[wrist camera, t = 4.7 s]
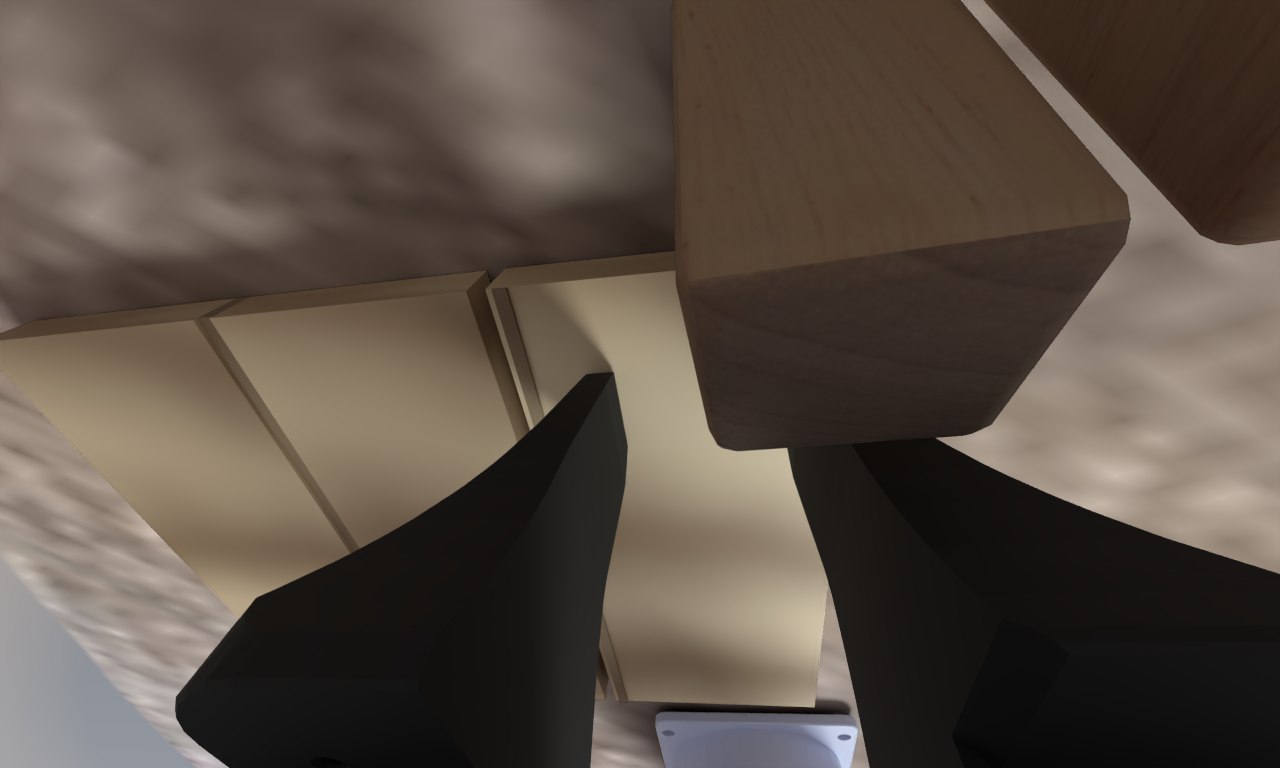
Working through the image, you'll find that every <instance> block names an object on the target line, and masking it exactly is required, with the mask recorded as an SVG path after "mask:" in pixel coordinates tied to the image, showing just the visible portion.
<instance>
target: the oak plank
mask: <svg viewBox="0 0 1280 768" xmlns="http://www.w3.org/2000/svg"><path fill="white" fill-rule="evenodd" d="M485 290H486V293H487V297H488V300H489V303H490V306H491V309H492V312H493V315H494V319H495V322H496V325H497V328H498V331H499V334H500V337H501V341H502V344H503V347H504V350H505V353H506V356H507V359H508V363H509V366H510V369H511V372H512V375H513V378H514V381H515V384H516V388H517V391H518V394H519V397H520V400H521V403H522V406H523V410H524V413H525V416H526V419H527V422H528V425H529V428H530V430H531V429H533V428H534V427H535V426H536V425H537V424H538V423H539V422H540V421H541V420H542V419H543V418H544V417H545V416H546V415H547V414H548V413H549V412H550V411H551V410H552V409H553V408H554V407H555V406H556V405H557V404H558V403H559V402H560V401H561V399H562V398H563V397H564V396H565V395H566V394H567V393H568V392H569V391H570V390H571V389H572V388H573V387H574V386H575V385H576V384H577V383H578V382H579V381H580V380H581V379H582V378H583V377H584V376H585V375H586V374H593V373H606V372H614V375H615V381H616V386H617V391H618V396H619V402H620V407H621V412H622V417H623V423H624V428H625V433H626V439H627V444H628V454H627V470H626V484H625V490H624V496H623V501H622V506H621V511H620V516H619V521H618V526H617V531H616V536H615V541H614V546H613V551H612V556H611V560H610V565H609V570H608V575H607V581H606V588H605V594H604V602H603V612H602V622H601V633H600V643H599V648H600V651H601V654H602V657H603V661H604V664H605V667H606V670H607V673H608V676H609V679H610V683H611V686H612V689H613V692H614V695H615V698H616V700H619V701H620V702H622V703H628V701H652V702H680V703H708V704H736V705H764V706H792V707H815V699H816V690H817V680H818V671H819V662H820V652H821V643H822V634H823V624H824V615H825V606H826V596H827V587H828V580H827V576H826V573H825V570H824V567H823V564H822V561H821V558H820V555H819V552H818V550H817V547H816V544H815V541H814V538H813V535H812V532H811V529H810V526H809V523H808V520H807V518H806V515H805V512H804V509H803V506H802V503H801V500H800V497H799V494H798V491H797V488H796V485H795V482H794V479H793V475H792V470H791V465H790V461H789V455H788V450H787V448H780V449H766V450H752V451H732V450H728V449H723V448H721V447H720V446H718V445H717V444H716V442H715V440H714V438H713V436H712V434H711V433H710V431H709V428H708V424H707V420H706V415H705V411H704V406H703V402H702V398H701V393H700V389H699V384H698V380H697V376H696V371H695V367H694V362H693V358H692V354H691V349H690V345H689V340H688V336H687V332H686V327H685V323H684V318H683V314H682V310H681V305H680V301H679V296H678V292H677V288H676V277H675V251H668V252H658V253H648V254H639V255H629V256H620V257H610V258H601V259H591V260H581V261H572V262H562V263H553V264H543V265H534V266H524V267H515V268H505V269H504V270H503V271H502V272H501V273H500V274H499V275H498V276H497V278H496V279H495V280H494V281H493V282H492V283H491V284H490V285H489V286H488V287H487V288H486V289H485Z"/></svg>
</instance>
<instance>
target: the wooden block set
mask: <svg viewBox="0 0 1280 768" xmlns="http://www.w3.org/2000/svg"><path fill="white" fill-rule="evenodd" d="M984 1H985V2H986V4H987V5H988V6H989V7H990V8H991V9H992V10H993V11H994V12H995V13H996V14H997V15H998V17H999V18H1000V19H1001V20H1002V21H1003V22H1004V23H1005V24H1006V25H1007V26H1008V27H1009V28H1010V30H1011V31H1012V32H1013V33H1014V34H1015V35H1016V36H1017V37H1018V38H1019V39H1020V40H1021V41H1022V43H1023V44H1024V45H1025V46H1026V47H1027V48H1028V49H1029V50H1030V51H1031V52H1032V53H1033V54H1034V56H1035V57H1036V58H1037V59H1038V60H1039V61H1040V62H1041V63H1042V64H1043V65H1044V66H1045V67H1046V69H1047V70H1048V71H1049V72H1050V73H1051V74H1052V75H1053V76H1054V77H1055V78H1056V79H1057V80H1058V82H1059V83H1060V84H1061V85H1062V86H1063V87H1064V88H1065V89H1066V90H1067V91H1068V92H1069V93H1070V95H1071V96H1072V97H1073V98H1074V99H1075V100H1076V101H1077V102H1078V103H1079V104H1080V105H1081V106H1082V108H1083V109H1084V110H1085V111H1086V112H1087V113H1088V114H1089V115H1090V116H1091V117H1092V118H1093V119H1094V121H1095V122H1096V123H1097V124H1098V125H1099V126H1100V127H1101V128H1102V129H1103V130H1104V131H1105V132H1106V134H1107V135H1108V136H1109V137H1110V138H1111V139H1112V140H1113V141H1114V142H1115V143H1116V144H1117V145H1118V147H1119V148H1120V149H1121V150H1122V151H1123V152H1124V153H1125V154H1126V155H1127V156H1128V157H1129V158H1130V160H1131V161H1132V162H1133V163H1134V164H1135V165H1136V166H1137V167H1138V168H1139V169H1140V170H1141V171H1142V173H1143V174H1144V175H1145V176H1146V177H1147V178H1148V179H1149V180H1150V181H1151V182H1152V183H1153V184H1154V186H1155V187H1156V188H1157V189H1158V190H1159V191H1160V192H1161V193H1162V194H1163V195H1164V196H1165V197H1166V199H1167V200H1168V201H1169V202H1170V203H1171V204H1172V205H1173V206H1174V207H1175V208H1176V209H1177V210H1178V212H1179V213H1180V214H1181V215H1182V216H1183V217H1184V218H1185V219H1186V220H1187V221H1188V222H1189V223H1190V225H1191V226H1192V227H1193V228H1194V229H1195V230H1196V231H1197V232H1198V233H1199V234H1200V235H1202V236H1204V237H1206V238H1209V239H1211V240H1213V241H1216V242H1218V243H1225V244H1232V245H1245V244H1253V243H1260V242H1268V241H1276V240H1280V0H984ZM672 60H673V132H674V204H675V277H676V288H677V292H678V296H679V301H680V305H681V310H682V314H683V318H684V323H685V327H686V332H687V336H688V340H689V345H690V349H691V354H692V358H693V362H694V367H695V371H696V376H697V380H698V384H699V389H700V393H701V398H702V402H703V406H704V411H705V415H706V420H707V424H708V428H709V431H710V433H711V434H712V436H713V438H714V440H715V442H716V444H717V445H718V446H720V447H721V448H723V449H728V450H732V451H752V450H766V449H780V448H795V447H809V446H823V445H837V444H852V443H866V442H880V441H895V440H909V439H923V438H937V437H952V436H964V435H968V434H972V433H974V432H977V431H979V430H981V429H983V428H985V427H987V426H990V425H991V424H992V423H993V422H994V420H995V419H996V418H997V416H998V415H999V414H1000V412H1001V411H1002V410H1003V408H1004V407H1005V406H1006V404H1007V403H1008V402H1009V400H1010V399H1011V397H1012V396H1013V395H1014V393H1015V392H1016V391H1017V389H1018V388H1019V387H1020V385H1021V384H1022V383H1023V381H1024V380H1025V379H1026V377H1027V376H1028V374H1029V373H1030V372H1031V370H1032V369H1033V368H1034V366H1035V365H1036V364H1037V362H1038V361H1039V360H1040V358H1041V357H1042V356H1043V354H1044V353H1045V352H1046V350H1047V349H1048V347H1049V346H1050V345H1051V343H1052V342H1053V341H1054V339H1055V338H1056V337H1057V335H1058V334H1059V333H1060V331H1061V330H1062V329H1063V327H1064V326H1065V325H1066V323H1067V322H1068V320H1069V319H1070V318H1071V316H1072V315H1073V314H1074V312H1075V311H1076V310H1077V308H1078V307H1079V306H1080V304H1081V303H1082V302H1083V300H1084V299H1085V298H1086V296H1087V295H1088V293H1089V292H1090V291H1091V289H1092V288H1093V287H1094V285H1095V284H1096V283H1097V281H1098V280H1099V279H1100V277H1101V276H1102V275H1103V273H1104V272H1105V271H1106V269H1107V268H1108V266H1109V265H1110V264H1111V262H1112V261H1113V260H1114V258H1115V257H1116V256H1117V254H1118V253H1119V252H1120V250H1121V249H1122V248H1123V246H1124V245H1125V243H1126V238H1127V233H1128V229H1129V224H1130V220H1131V218H1130V211H1129V205H1128V198H1127V194H1126V193H1125V192H1124V191H1123V190H1122V189H1121V187H1120V186H1119V185H1118V184H1117V183H1116V182H1115V180H1114V179H1113V178H1112V177H1111V176H1110V175H1109V173H1108V172H1107V171H1106V170H1105V169H1104V168H1103V166H1102V165H1101V164H1100V163H1099V162H1098V161H1097V159H1096V158H1095V157H1094V156H1093V155H1092V154H1091V152H1090V151H1089V150H1088V149H1087V148H1086V147H1085V145H1084V144H1083V143H1082V142H1081V141H1080V140H1079V138H1078V137H1077V136H1076V135H1075V134H1074V133H1073V131H1072V130H1071V129H1070V128H1069V127H1068V126H1067V124H1066V123H1065V122H1064V121H1063V120H1062V118H1061V117H1060V116H1059V115H1058V114H1057V113H1056V111H1055V110H1054V109H1053V108H1052V107H1051V106H1050V104H1049V103H1048V102H1047V101H1046V100H1045V99H1044V97H1043V96H1042V95H1041V94H1040V93H1039V92H1038V90H1037V89H1036V88H1035V87H1034V86H1033V85H1032V83H1031V82H1030V81H1029V80H1028V79H1027V78H1026V76H1025V75H1024V74H1023V73H1022V72H1021V71H1020V69H1019V68H1018V67H1017V66H1016V65H1015V64H1014V62H1013V61H1012V60H1011V59H1010V58H1009V57H1008V55H1007V54H1006V53H1005V52H1004V51H1003V50H1002V48H1001V47H1000V46H999V45H998V44H997V43H996V41H995V40H994V39H993V38H992V37H991V35H990V34H989V33H988V32H987V31H986V30H985V28H984V27H983V26H982V25H981V24H980V23H979V21H978V20H977V19H976V18H975V17H974V16H973V14H972V13H971V12H970V11H969V10H968V9H967V7H966V6H965V5H964V4H963V3H962V2H961V0H673V4H672Z"/></svg>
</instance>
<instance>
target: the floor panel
mask: <svg viewBox="0 0 1280 768" xmlns="http://www.w3.org/2000/svg"><path fill="white" fill-rule="evenodd" d="M490 284H491V283H490V280H489V277H488V273H487V271H478V272H469V273H460V274H451V275H442V276H433V277H424V278H415V279H406V280H397V281H388V282H379V283H370V284H361V285H352V286H343V287H334V288H325V289H316V290H307V291H298V292H289V293H280V294H271V295H261V296H252V297H243V298H234V299H225V300H216V301H207V302H198V303H189V304H180V305H171V306H162V307H153V308H144V309H135V310H126V311H117V312H108V313H99V314H90V315H81V316H72V317H63V318H54V319H45V320H36V321H31V322H29V323H26V324H23V325H21V326H18V327H16V328H13V329H10V330H8V331H5V332H3V333H0V370H1V371H2V372H3V373H4V374H5V375H6V376H7V377H8V379H9V380H10V381H11V382H12V383H13V384H14V385H15V386H16V387H17V388H18V389H19V390H20V391H21V392H22V393H23V394H24V395H25V396H26V397H27V398H28V399H29V400H30V401H31V403H32V404H33V405H34V406H35V407H36V408H37V409H38V410H39V411H40V412H41V413H42V414H43V415H44V416H45V417H46V418H47V419H48V420H49V421H50V422H51V423H52V424H53V425H54V427H55V428H56V429H57V430H58V431H59V432H60V433H61V434H62V435H63V436H64V437H65V438H66V439H67V440H68V441H69V442H70V443H71V444H72V445H73V446H74V447H75V448H76V449H77V451H78V452H79V453H80V454H81V455H82V456H83V457H84V458H85V459H86V460H87V461H88V462H89V463H90V464H91V465H92V466H93V467H94V468H95V469H96V470H97V471H98V472H99V473H100V475H101V476H102V477H103V478H104V479H105V480H106V481H107V482H108V483H109V484H110V485H111V486H112V487H113V488H114V489H115V490H116V491H117V492H118V493H119V494H120V495H121V496H122V497H123V499H124V500H125V501H126V502H127V503H128V504H129V505H130V506H131V507H132V508H133V509H134V510H135V511H136V512H137V513H138V514H139V515H140V516H141V517H142V518H143V519H144V520H145V521H146V523H147V524H148V525H149V526H150V527H151V528H152V529H153V530H154V531H155V532H156V533H157V534H158V535H159V536H160V537H161V538H162V539H163V540H164V541H165V542H166V543H167V544H168V545H169V546H170V548H171V549H172V550H173V551H174V552H175V553H176V554H177V555H178V556H179V557H180V558H181V559H182V560H183V561H184V562H185V563H186V564H187V565H188V566H189V567H190V568H191V569H192V570H193V572H194V573H195V574H196V575H197V576H198V577H199V578H200V579H201V580H202V581H203V582H204V583H205V584H206V585H207V586H208V587H209V588H210V589H211V590H212V591H213V592H214V593H215V594H216V596H217V597H218V598H219V599H220V600H221V601H222V602H223V603H224V604H225V605H226V606H227V607H228V608H229V609H230V610H231V611H232V612H233V613H234V614H235V615H236V616H237V617H238V618H240V617H241V616H242V615H243V613H244V612H245V611H246V610H247V608H248V607H249V606H250V605H251V603H252V602H253V601H254V600H255V599H256V598H257V597H259V596H261V595H263V594H265V593H268V592H270V591H272V590H275V589H277V588H279V587H281V586H283V585H285V584H288V583H290V582H292V581H294V580H296V579H298V578H300V577H303V576H305V575H307V574H309V573H311V572H313V571H315V570H318V569H320V568H322V567H324V566H326V565H328V564H330V563H333V562H335V561H337V560H339V559H341V558H343V557H345V556H347V555H349V554H351V553H352V552H354V551H356V550H358V549H360V548H362V547H364V546H366V545H368V544H369V543H371V542H373V541H375V540H377V539H379V538H381V537H382V536H384V535H386V534H388V533H389V532H391V531H393V530H395V529H396V528H398V527H400V526H402V525H403V524H405V523H407V522H409V521H410V520H412V519H414V518H415V517H417V516H418V515H420V514H421V513H423V512H424V511H426V510H428V509H429V508H431V507H432V506H434V505H435V504H437V503H438V502H440V501H441V500H443V499H445V498H446V497H448V496H449V495H451V494H452V493H454V492H455V491H457V490H458V489H460V488H461V487H463V486H464V485H465V484H467V483H468V482H469V481H471V480H472V479H473V478H475V477H476V476H477V475H479V474H480V473H481V472H483V471H484V470H485V469H487V468H488V467H489V466H490V465H492V464H493V463H494V462H495V461H497V460H498V459H499V458H500V457H501V456H503V455H504V454H505V453H506V452H507V451H508V450H509V449H511V448H512V447H513V446H514V445H515V444H516V443H517V442H518V441H519V440H520V439H522V438H523V437H524V436H525V435H526V434H527V433H528V432H529V431H530V428H529V425H528V422H527V419H526V416H525V413H524V410H523V406H522V403H521V400H520V397H519V394H518V391H517V388H516V384H515V381H514V378H513V375H512V372H511V369H510V366H509V363H508V359H507V356H506V353H505V350H504V347H503V344H502V341H501V337H500V334H499V331H498V328H497V325H496V322H495V319H494V315H493V312H492V309H491V306H490V303H489V300H488V297H487V293H486V290H485V289H486V288H487V287H488V286H489V285H490ZM607 684H608V673H607V670H606V667H605V664H604V661H603V657H602V654H601V651H600V648H599V654H598V667H597V679H596V691H595V700H606V692H607Z"/></svg>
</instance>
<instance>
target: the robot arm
mask: <svg viewBox="0 0 1280 768" xmlns="http://www.w3.org/2000/svg"><path fill="white" fill-rule="evenodd" d="M787 450H788V455H789V461H790V465H791V470H792V475H793V479H794V482H795V485H796V488H797V491H798V494H799V497H800V500H801V503H802V506H803V509H804V512H805V515H806V518H807V520H808V523H809V526H810V529H811V532H812V535H813V538H814V541H815V544H816V547H817V550H818V552H819V555H820V558H821V561H822V564H823V567H824V570H825V573H826V576H827V580H828V583H829V586H830V590H831V593H832V597H833V601H834V606H835V610H836V614H837V618H838V623H839V627H840V631H841V636H842V640H843V644H844V649H845V653H846V658H847V662H848V667H849V671H850V676H851V680H852V685H853V689H854V694H855V699H856V703H857V708H858V713H859V718H860V723H861V727H862V732H863V737H864V742H865V747H866V752H867V757H868V761H869V766H870V768H1280V574H1278V573H1275V572H1272V571H1268V570H1265V569H1262V568H1259V567H1256V566H1253V565H1249V564H1246V563H1243V562H1240V561H1237V560H1233V559H1230V558H1227V557H1224V556H1221V555H1218V554H1214V553H1211V552H1208V551H1205V550H1202V549H1198V548H1195V547H1192V546H1189V545H1186V544H1183V543H1179V542H1176V541H1173V540H1170V539H1167V538H1164V537H1161V536H1158V535H1155V534H1152V533H1150V532H1147V531H1144V530H1141V529H1139V528H1136V527H1133V526H1131V525H1128V524H1125V523H1122V522H1120V521H1117V520H1114V519H1111V518H1109V517H1106V516H1103V515H1101V514H1098V513H1095V512H1092V511H1090V510H1087V509H1085V508H1082V507H1080V506H1077V505H1075V504H1072V503H1070V502H1067V501H1065V500H1062V499H1060V498H1057V497H1055V496H1053V495H1050V494H1048V493H1046V492H1044V491H1041V490H1039V489H1037V488H1034V487H1032V486H1030V485H1028V484H1025V483H1023V482H1021V481H1019V480H1016V479H1014V478H1012V477H1010V476H1007V475H1005V474H1003V473H1001V472H999V471H997V470H995V469H993V468H991V467H989V466H986V465H984V464H982V463H981V462H979V461H977V460H975V459H973V458H971V457H969V456H967V455H965V454H964V453H962V452H960V451H958V450H956V449H954V448H952V447H950V446H948V445H946V444H945V443H943V442H941V441H939V440H938V439H936V438H923V439H909V440H895V441H880V442H866V443H852V444H837V445H823V446H809V447H795V448H787ZM627 454H628V444H627V439H626V433H625V428H624V423H623V417H622V412H621V407H620V402H619V396H618V391H617V386H616V381H615V375H614V372H606V373H593V374H586V375H585V376H584V377H583V378H582V379H581V380H580V381H579V382H578V383H577V384H576V385H575V386H574V387H573V388H572V389H571V390H570V391H569V392H568V393H567V394H566V395H565V396H564V397H563V398H562V399H561V401H560V402H559V403H558V404H557V405H556V406H555V407H554V408H553V409H552V410H551V411H550V412H549V413H548V414H547V415H546V416H545V417H544V418H543V419H542V420H541V421H540V422H539V423H538V424H537V425H536V426H535V427H534V428H533V429H531V430H530V431H529V432H528V433H527V434H526V435H525V436H524V437H523V438H522V439H520V440H519V441H518V442H517V443H516V444H515V445H514V446H513V447H512V448H511V449H509V450H508V451H507V452H506V453H505V454H504V455H503V456H501V457H500V458H499V459H498V460H497V461H495V462H494V463H493V464H492V465H490V466H489V467H488V468H487V469H485V470H484V471H483V472H481V473H480V474H479V475H477V476H476V477H475V478H473V479H472V480H471V481H469V482H468V483H467V484H465V485H464V486H463V487H461V488H460V489H458V490H457V491H455V492H454V493H452V494H451V495H449V496H448V497H446V498H445V499H443V500H441V501H440V502H438V503H437V504H435V505H434V506H432V507H431V508H429V509H428V510H426V511H424V512H423V513H421V514H420V515H418V516H417V517H415V518H414V519H412V520H410V521H409V522H407V523H405V524H403V525H402V526H400V527H398V528H396V529H395V530H393V531H391V532H389V533H388V534H386V535H384V536H382V537H381V538H379V539H377V540H375V541H373V542H371V543H369V544H368V545H366V546H364V547H362V548H360V549H358V550H356V551H354V552H352V553H351V554H349V555H347V556H345V557H343V558H341V559H339V560H337V561H335V562H333V563H330V564H328V565H326V566H324V567H322V568H320V569H318V570H315V571H313V572H311V573H309V574H307V575H305V576H303V577H300V578H298V579H296V580H294V581H292V582H290V583H288V584H285V585H283V586H281V587H279V588H277V589H275V590H272V591H270V592H268V593H265V594H263V595H261V596H259V597H257V598H256V599H255V600H254V601H253V602H252V603H251V605H250V606H249V607H248V608H247V610H246V611H245V612H244V613H243V615H242V616H241V617H240V618H239V620H238V621H237V622H236V623H235V624H234V626H233V627H232V628H231V629H230V631H229V632H228V633H227V634H226V636H225V637H224V638H223V639H222V641H221V642H220V643H219V644H218V646H217V647H216V648H215V649H214V650H213V652H212V653H211V654H210V655H209V657H208V658H207V659H206V660H205V662H204V663H203V664H202V665H201V667H200V668H199V669H198V670H197V672H196V673H195V674H194V675H193V676H192V678H191V679H190V680H189V681H188V683H187V684H186V685H185V686H184V688H183V689H182V690H181V691H180V693H179V694H178V695H177V696H176V705H175V712H176V718H177V720H178V722H179V724H180V725H181V727H182V729H183V730H184V732H185V733H186V734H187V735H188V736H190V737H191V738H192V739H193V740H194V741H195V742H196V743H197V744H198V745H200V746H201V747H202V748H204V749H205V750H206V751H208V752H209V753H210V754H212V755H213V756H214V757H216V758H217V759H218V760H220V761H221V762H222V763H224V764H225V765H226V766H228V767H229V768H590V763H591V748H592V733H593V718H594V704H595V691H596V679H597V667H598V654H599V643H600V633H601V622H602V612H603V602H604V594H605V588H606V581H607V575H608V570H609V565H610V560H611V556H612V551H613V546H614V541H615V536H616V531H617V526H618V521H619V516H620V511H621V506H622V501H623V496H624V490H625V484H626V470H627ZM655 727H656V731H657V735H658V739H659V743H660V747H661V751H662V755H663V759H664V763H665V767H666V768H850V767H851V763H852V758H853V753H854V749H855V744H856V739H857V734H858V727H857V723H856V719H854V718H853V717H852V716H849V715H835V714H777V713H718V712H661V713H659V714H657V715H656V721H655Z"/></svg>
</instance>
